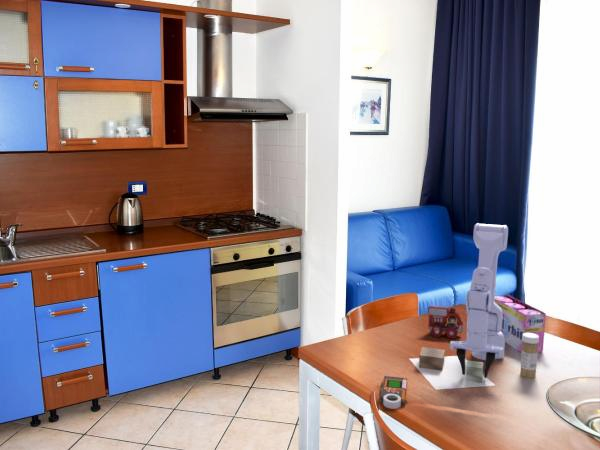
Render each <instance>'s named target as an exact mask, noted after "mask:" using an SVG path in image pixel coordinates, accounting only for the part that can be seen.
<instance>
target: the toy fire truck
mask: <svg viewBox="0 0 600 450" xmlns="http://www.w3.org/2000/svg"><path fill="white" fill-rule="evenodd" d="M427 314H428V326H427V327H428V329H429V330H430V333H431V336H433V337H435V338H439V337H442V335H443V333H444V332H445V335H446V337H447V338H448V339H451V338H453V339H455V338H457V336H458V334H462V332H463V326H464V324H463V320H462V318H461V316H460V314H459V312H456V308H455V307H450V308H448V307H447V306H445V307H444V306H433V305H429V306H428V308H427Z"/></svg>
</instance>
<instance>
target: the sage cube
mask: <svg viewBox="0 0 600 450" xmlns="http://www.w3.org/2000/svg"><path fill="white" fill-rule="evenodd" d="M466 360H467V371H466V381H471V382H478V383H482V377H483V375H484V372H483V371H484V362H483V361H475V360H468V359H466Z"/></svg>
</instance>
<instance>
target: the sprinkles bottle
mask: <svg viewBox="0 0 600 450" xmlns="http://www.w3.org/2000/svg"><path fill="white" fill-rule="evenodd" d="M538 342H539V336H538V335H537V334H534V333H524V334H523V335H522V353H521V352H520V353H521V354H520V371H519V372H520V374H519V375H520V376H521V378H525V379H534V378H537V377H536V376H537V375H536V373H537V366H538V355H539V354H538V353H539V352H537V349H538Z"/></svg>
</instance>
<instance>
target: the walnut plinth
mask: <svg viewBox="0 0 600 450" xmlns="http://www.w3.org/2000/svg"><path fill="white" fill-rule="evenodd" d="M445 357H446V350H445V349H442V348H441V349H439V348H433V347H426V346H424V347H423V346H422V347H421V350H420V353H419V357H418V358H419V368H426V369H434V370H441V371H442V370H443V366H444V359H445Z"/></svg>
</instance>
